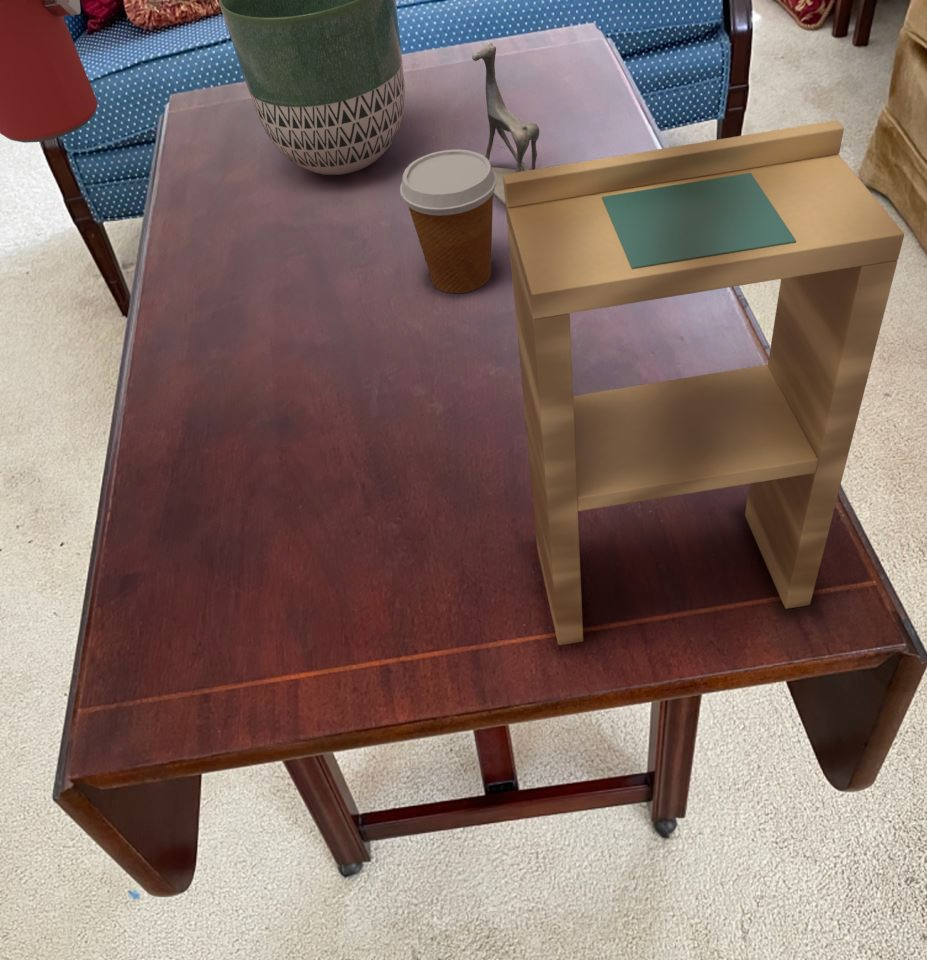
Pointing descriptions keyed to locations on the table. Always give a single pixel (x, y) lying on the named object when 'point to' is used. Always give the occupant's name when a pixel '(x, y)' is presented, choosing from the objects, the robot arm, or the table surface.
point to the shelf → (712, 397)
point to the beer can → (40, 75)
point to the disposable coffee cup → (452, 216)
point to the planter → (322, 77)
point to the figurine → (505, 123)
